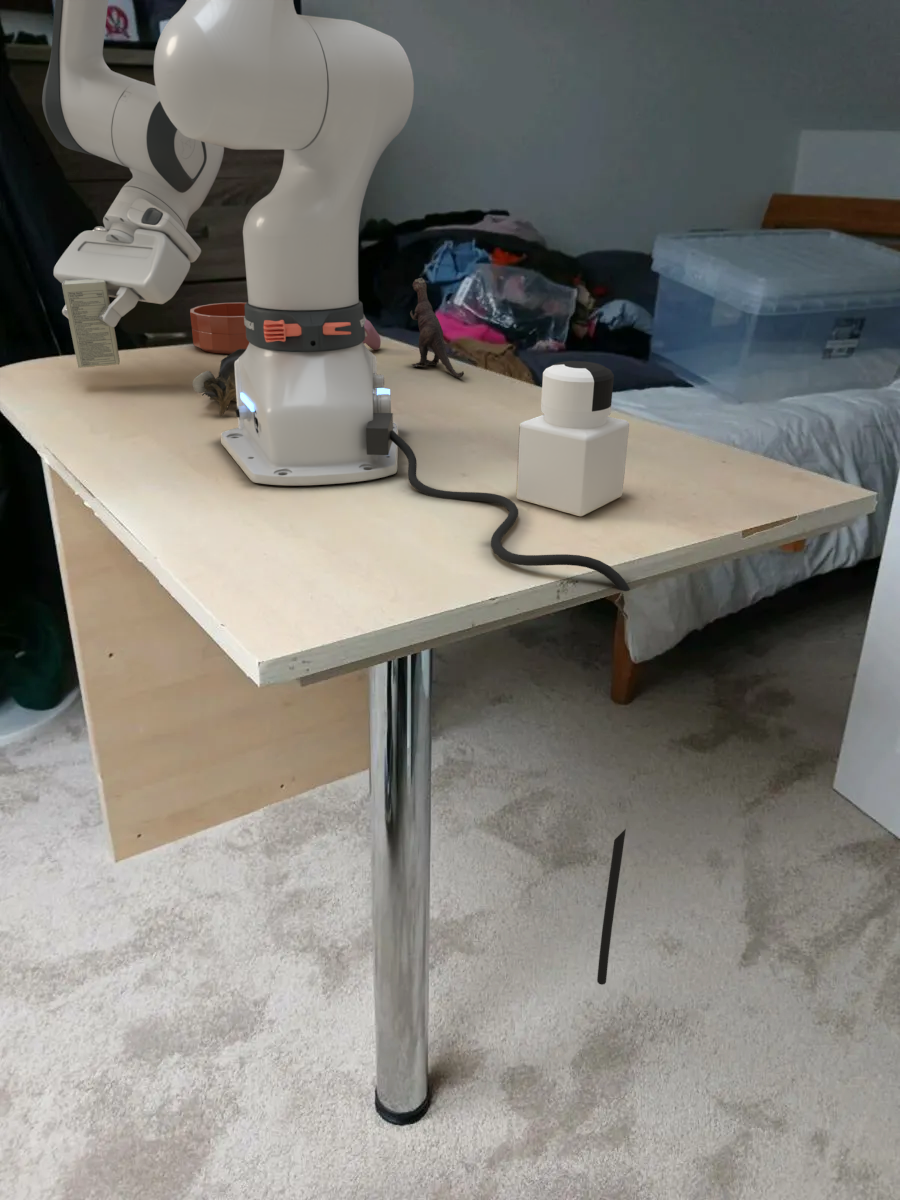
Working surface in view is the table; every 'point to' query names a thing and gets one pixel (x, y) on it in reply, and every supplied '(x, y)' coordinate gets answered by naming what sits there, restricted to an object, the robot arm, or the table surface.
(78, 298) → the printed carton
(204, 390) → the eagle figurine
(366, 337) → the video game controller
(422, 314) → the dinosaur model
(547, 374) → the medicine bottle
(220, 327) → the bowl
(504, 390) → the table surface
